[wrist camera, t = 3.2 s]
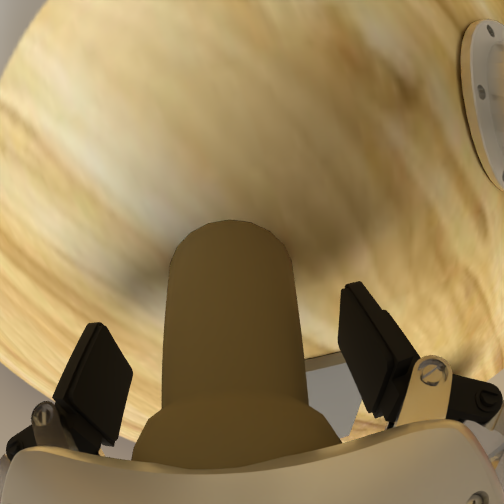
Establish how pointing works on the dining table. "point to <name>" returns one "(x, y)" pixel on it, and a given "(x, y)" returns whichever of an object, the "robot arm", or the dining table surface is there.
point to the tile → (333, 391)
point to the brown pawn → (232, 356)
